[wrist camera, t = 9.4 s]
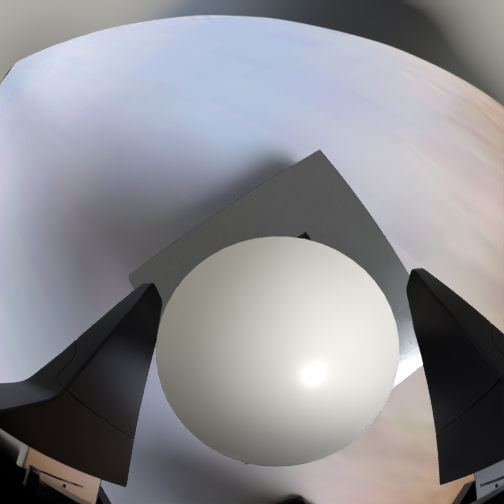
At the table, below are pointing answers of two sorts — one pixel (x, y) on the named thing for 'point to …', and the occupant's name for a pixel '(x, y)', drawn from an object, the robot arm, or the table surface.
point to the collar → (298, 226)
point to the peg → (277, 351)
